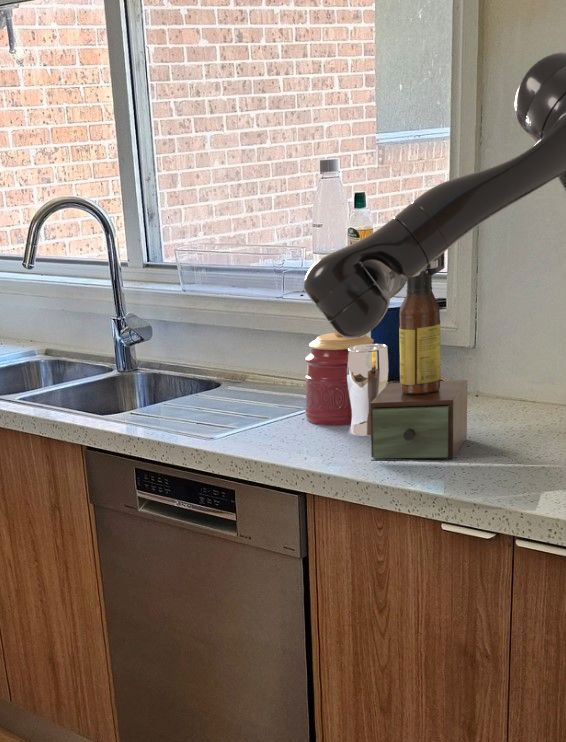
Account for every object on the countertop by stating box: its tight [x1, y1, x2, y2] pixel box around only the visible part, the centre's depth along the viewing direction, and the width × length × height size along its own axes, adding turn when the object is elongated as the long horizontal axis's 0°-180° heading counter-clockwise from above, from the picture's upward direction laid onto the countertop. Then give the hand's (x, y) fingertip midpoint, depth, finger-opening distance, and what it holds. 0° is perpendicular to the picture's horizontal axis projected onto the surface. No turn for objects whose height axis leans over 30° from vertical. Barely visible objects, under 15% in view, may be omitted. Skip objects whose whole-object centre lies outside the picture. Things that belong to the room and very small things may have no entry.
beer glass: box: [346, 343, 389, 437], centre depth 210 cm, size 7×7×15 cm
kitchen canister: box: [304, 329, 375, 427], centre depth 222 cm, size 13×13×18 cm
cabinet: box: [370, 379, 468, 462], centre depth 198 cm, size 15×13×10 cm
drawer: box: [373, 405, 449, 460], centre depth 196 cm, size 15×11×8 cm
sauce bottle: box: [398, 271, 442, 395], centre depth 192 cm, size 6×6×20 cm
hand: (398, 259), depth 174 cm, fingers open, 8 cm apart
